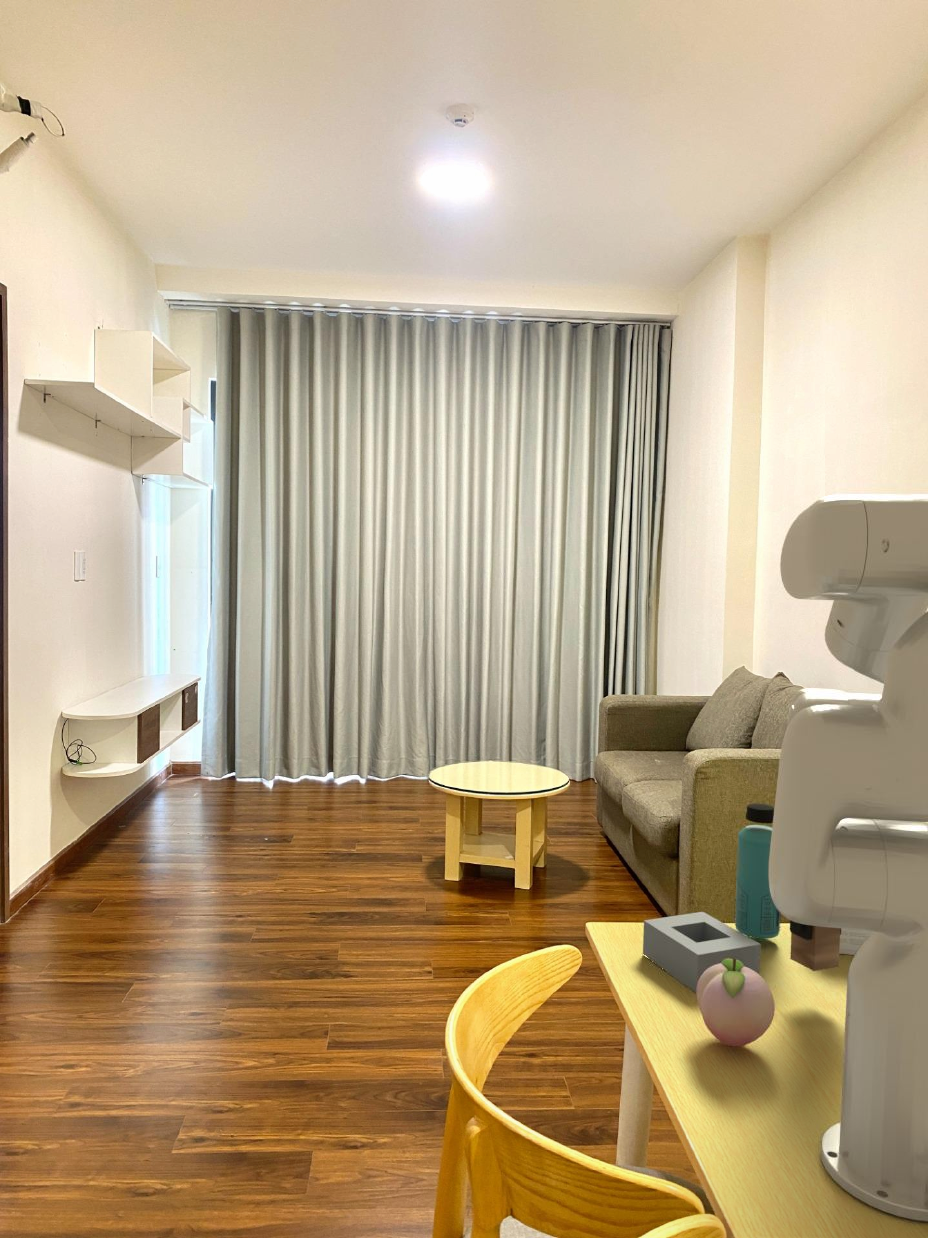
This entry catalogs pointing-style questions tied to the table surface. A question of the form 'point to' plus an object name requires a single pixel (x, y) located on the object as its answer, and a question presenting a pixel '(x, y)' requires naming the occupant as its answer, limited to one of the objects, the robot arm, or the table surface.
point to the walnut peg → (817, 948)
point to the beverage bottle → (755, 877)
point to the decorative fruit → (735, 1003)
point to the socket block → (696, 946)
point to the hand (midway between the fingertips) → (815, 932)
